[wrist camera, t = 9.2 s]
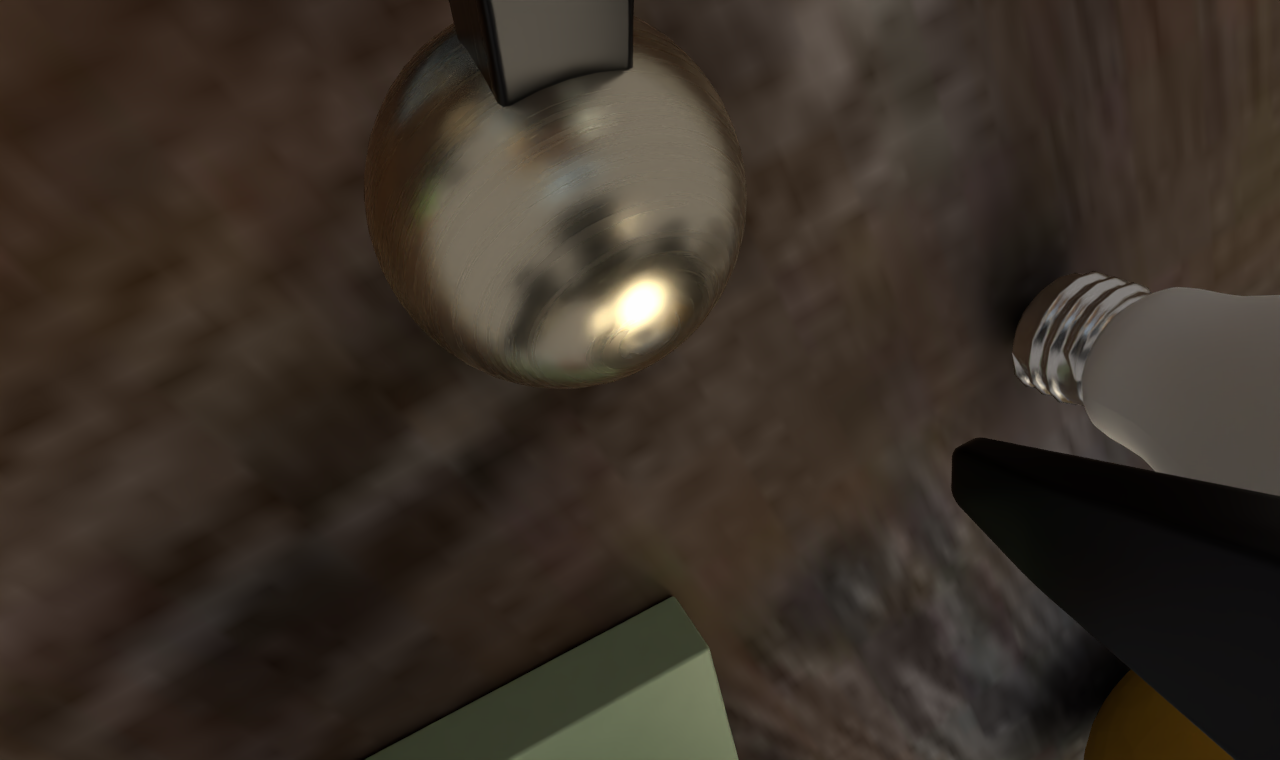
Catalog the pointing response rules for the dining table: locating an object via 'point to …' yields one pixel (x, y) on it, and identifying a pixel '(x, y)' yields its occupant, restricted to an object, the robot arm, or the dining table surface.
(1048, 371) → the light bulb
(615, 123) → the switch lever
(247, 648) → the dining table surface
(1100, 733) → the emoji
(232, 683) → the dining table surface
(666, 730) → the button box
